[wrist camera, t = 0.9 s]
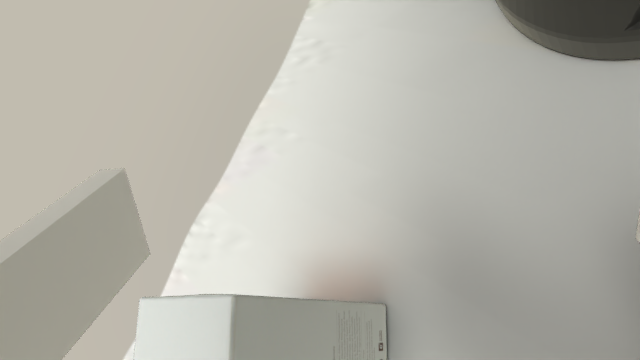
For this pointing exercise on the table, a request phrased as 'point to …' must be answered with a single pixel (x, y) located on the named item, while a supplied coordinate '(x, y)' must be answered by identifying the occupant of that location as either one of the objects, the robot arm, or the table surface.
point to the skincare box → (258, 328)
